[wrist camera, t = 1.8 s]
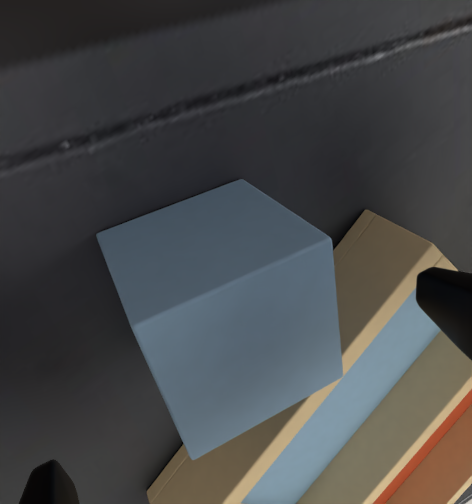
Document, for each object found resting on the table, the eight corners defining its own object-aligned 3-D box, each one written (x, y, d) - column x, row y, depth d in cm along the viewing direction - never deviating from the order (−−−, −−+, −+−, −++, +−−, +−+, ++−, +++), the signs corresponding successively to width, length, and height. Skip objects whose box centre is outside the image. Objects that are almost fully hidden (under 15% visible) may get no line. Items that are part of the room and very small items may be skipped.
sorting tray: (362, 516, 27) (398, 566, 24) (145, 491, 17) (167, 572, 14) (508, 346, 25) (562, 381, 23) (365, 208, 15) (433, 243, 13)
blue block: (145, 349, 14) (192, 463, 10) (94, 232, 11) (131, 328, 8) (265, 293, 15) (345, 377, 11) (242, 177, 12) (333, 237, 9)
